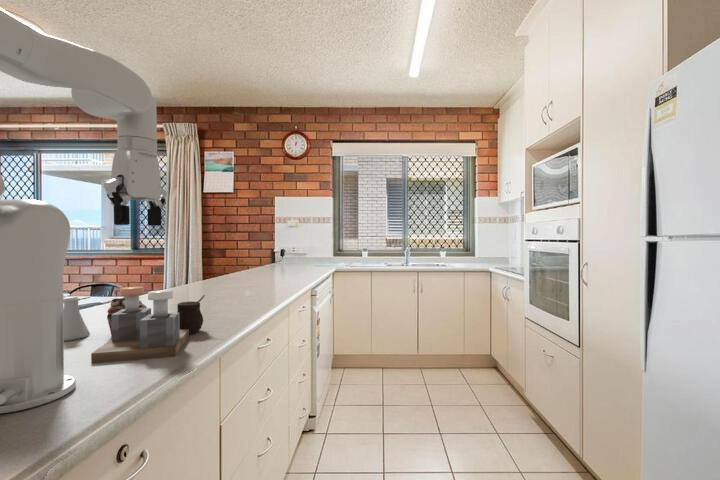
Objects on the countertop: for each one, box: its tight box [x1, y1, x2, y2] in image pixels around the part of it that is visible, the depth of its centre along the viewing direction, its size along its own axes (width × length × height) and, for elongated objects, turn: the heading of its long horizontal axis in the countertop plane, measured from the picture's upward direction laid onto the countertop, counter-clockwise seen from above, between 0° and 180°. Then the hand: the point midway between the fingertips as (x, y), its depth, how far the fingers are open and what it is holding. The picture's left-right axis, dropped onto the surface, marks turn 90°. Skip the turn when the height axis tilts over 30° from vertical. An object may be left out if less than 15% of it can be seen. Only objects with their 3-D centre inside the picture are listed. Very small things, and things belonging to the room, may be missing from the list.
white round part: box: [147, 289, 174, 318], centre depth 80 cm, size 5×5×6 cm
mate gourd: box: [176, 295, 206, 335], centre depth 96 cm, size 7×8×10 cm
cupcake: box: [106, 296, 148, 337], centre depth 95 cm, size 10×10×10 cm
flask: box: [63, 297, 91, 342], centre depth 91 cm, size 7×7×10 cm
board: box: [90, 307, 190, 364], centre depth 82 cm, size 16×16×8 cm
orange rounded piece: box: [119, 286, 145, 313], centre depth 85 cm, size 5×5×6 cm
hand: (139, 225), depth 80 cm, fingers open, 9 cm apart
